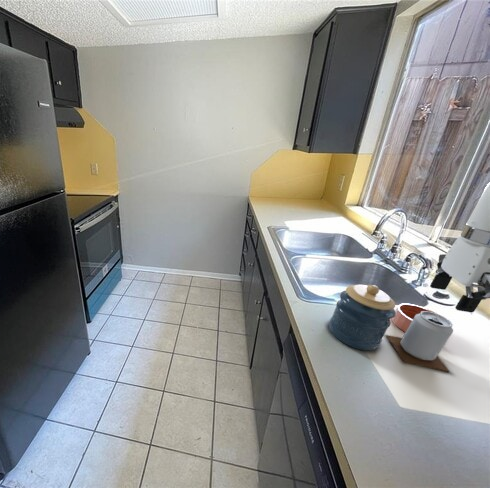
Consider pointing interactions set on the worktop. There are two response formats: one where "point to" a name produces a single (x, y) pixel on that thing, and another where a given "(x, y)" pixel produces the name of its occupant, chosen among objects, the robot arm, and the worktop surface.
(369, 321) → the canister
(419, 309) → the bowl
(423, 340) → the can
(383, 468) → the worktop surface
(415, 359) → the mat
